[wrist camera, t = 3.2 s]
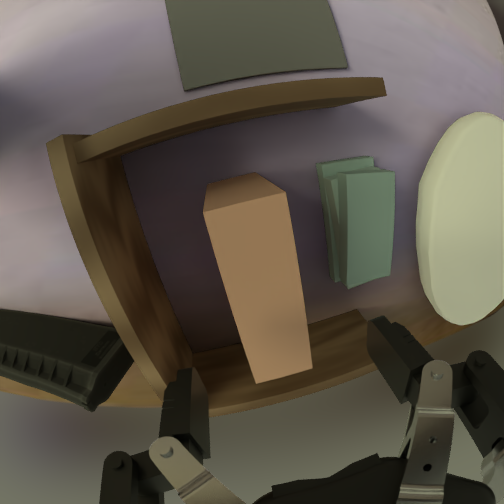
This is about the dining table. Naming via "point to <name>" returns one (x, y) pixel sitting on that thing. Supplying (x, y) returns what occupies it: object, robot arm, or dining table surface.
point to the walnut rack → (142, 265)
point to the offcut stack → (357, 218)
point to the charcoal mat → (251, 38)
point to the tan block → (260, 272)
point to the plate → (463, 220)
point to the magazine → (62, 356)
